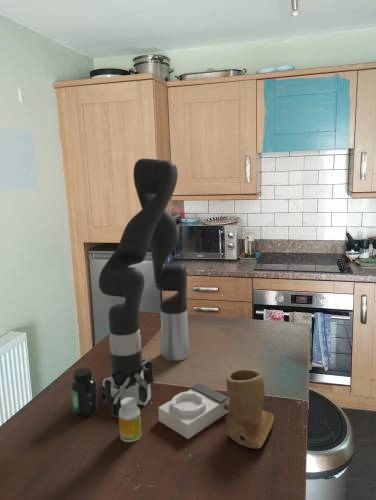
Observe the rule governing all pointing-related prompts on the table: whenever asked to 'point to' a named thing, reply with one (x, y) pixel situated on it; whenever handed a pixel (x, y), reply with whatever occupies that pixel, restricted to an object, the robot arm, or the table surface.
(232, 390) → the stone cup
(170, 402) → the white recessed base
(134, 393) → the medicine box
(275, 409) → the table surface
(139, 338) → the robot arm
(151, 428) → the table surface
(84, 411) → the supplement bottle
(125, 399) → the supplement bottle
